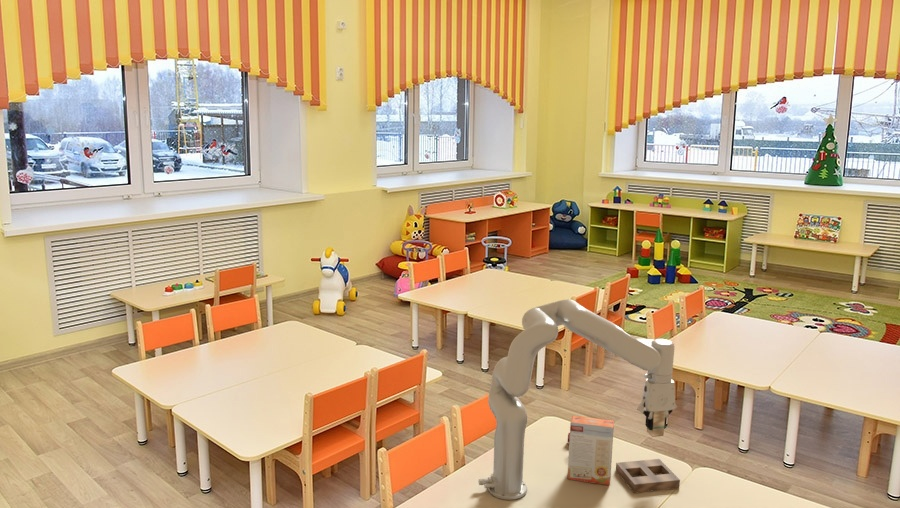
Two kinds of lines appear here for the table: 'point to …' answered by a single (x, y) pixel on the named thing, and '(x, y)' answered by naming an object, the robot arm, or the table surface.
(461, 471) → the table surface
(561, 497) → the table surface
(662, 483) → the peg board
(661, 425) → the peg
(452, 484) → the table surface
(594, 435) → the cracker box
